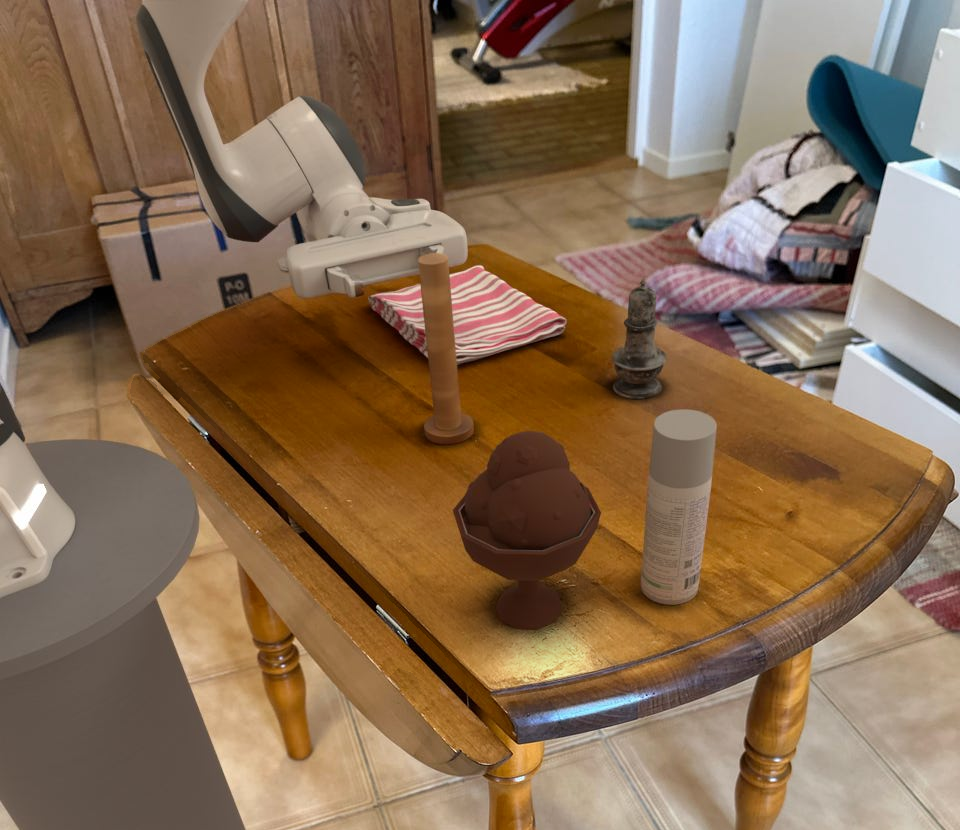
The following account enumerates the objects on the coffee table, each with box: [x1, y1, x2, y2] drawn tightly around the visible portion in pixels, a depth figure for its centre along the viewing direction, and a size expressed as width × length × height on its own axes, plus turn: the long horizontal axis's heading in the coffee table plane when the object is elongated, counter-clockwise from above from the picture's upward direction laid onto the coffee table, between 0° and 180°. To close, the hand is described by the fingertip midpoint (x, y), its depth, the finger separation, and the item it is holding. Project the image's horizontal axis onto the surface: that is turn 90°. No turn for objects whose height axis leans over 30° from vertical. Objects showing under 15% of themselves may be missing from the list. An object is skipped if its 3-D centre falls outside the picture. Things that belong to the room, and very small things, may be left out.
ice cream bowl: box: [452, 430, 602, 630], centre depth 71 cm, size 11×11×15 cm
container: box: [640, 408, 718, 606], centre depth 71 cm, size 5×5×15 cm
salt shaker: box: [611, 278, 668, 400], centre depth 98 cm, size 6×6×12 cm
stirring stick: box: [418, 253, 475, 445], centre depth 91 cm, size 5×5×18 cm
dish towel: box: [368, 264, 567, 366], centre depth 117 cm, size 17×23×4 cm
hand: (399, 280), depth 98 cm, fingers open, 8 cm apart
